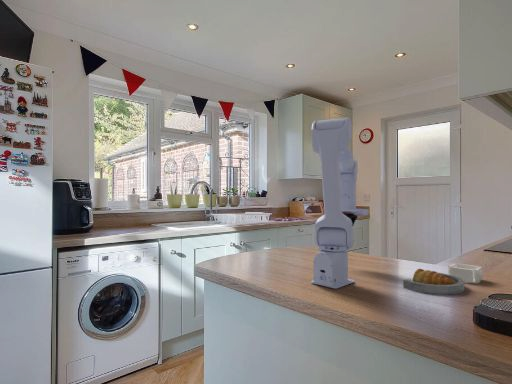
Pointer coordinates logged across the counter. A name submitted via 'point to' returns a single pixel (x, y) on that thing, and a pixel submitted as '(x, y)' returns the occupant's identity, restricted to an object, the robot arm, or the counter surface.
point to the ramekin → (466, 272)
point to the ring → (436, 286)
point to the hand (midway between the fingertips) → (347, 236)
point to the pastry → (431, 278)
